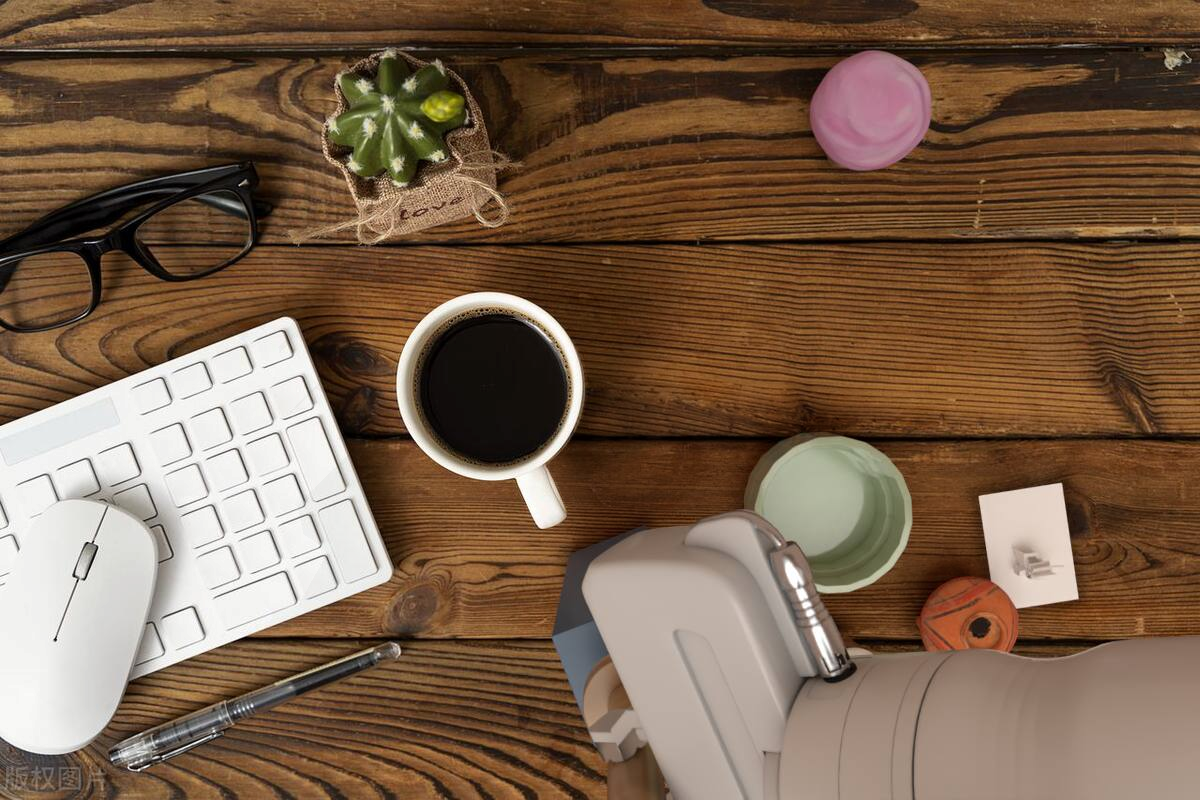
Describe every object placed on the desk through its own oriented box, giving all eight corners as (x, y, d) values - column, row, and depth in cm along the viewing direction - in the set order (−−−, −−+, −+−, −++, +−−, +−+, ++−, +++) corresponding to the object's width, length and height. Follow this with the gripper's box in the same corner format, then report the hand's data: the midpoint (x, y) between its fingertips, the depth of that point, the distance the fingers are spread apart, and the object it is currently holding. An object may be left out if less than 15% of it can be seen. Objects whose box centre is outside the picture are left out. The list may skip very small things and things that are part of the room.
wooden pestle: (689, 721, 46) (731, 896, 31) (603, 754, 46) (600, 945, 31) (656, 635, 46) (680, 766, 30) (569, 668, 46) (549, 816, 30)
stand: (675, 600, 73) (706, 704, 50) (598, 630, 73) (594, 747, 50) (645, 524, 73) (663, 593, 50) (569, 554, 73) (551, 636, 50)
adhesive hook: (1012, 578, 72) (1031, 587, 69) (1008, 548, 72) (1026, 556, 69) (1048, 572, 72) (1068, 581, 69) (1044, 542, 72) (1063, 550, 69)
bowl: (908, 544, 72) (935, 559, 66) (773, 596, 73) (788, 615, 67) (856, 410, 72) (879, 413, 66) (721, 462, 72) (732, 470, 66)
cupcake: (823, 205, 72) (857, 178, 62) (775, 113, 72) (802, 70, 62) (918, 155, 72) (968, 120, 62) (870, 63, 71) (913, 12, 61)
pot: (914, 555, 72) (966, 576, 66) (990, 576, 74) (1048, 599, 67) (887, 646, 72) (936, 676, 66) (964, 665, 74) (1019, 696, 67)
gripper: (722, 541, 25) (470, 591, 35) (997, 1169, 25) (671, 1041, 35) (824, 464, 29) (574, 528, 39) (1057, 1001, 30) (752, 929, 40)
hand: (621, 774), depth 37 cm, fingers closed on wooden pestle, 2 cm apart
